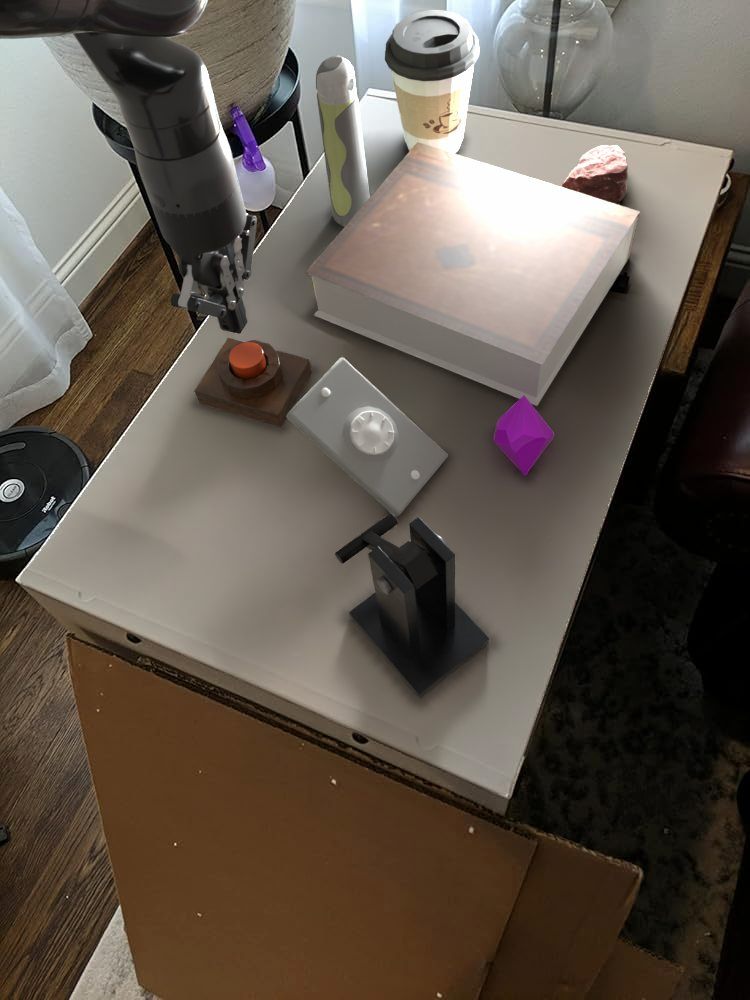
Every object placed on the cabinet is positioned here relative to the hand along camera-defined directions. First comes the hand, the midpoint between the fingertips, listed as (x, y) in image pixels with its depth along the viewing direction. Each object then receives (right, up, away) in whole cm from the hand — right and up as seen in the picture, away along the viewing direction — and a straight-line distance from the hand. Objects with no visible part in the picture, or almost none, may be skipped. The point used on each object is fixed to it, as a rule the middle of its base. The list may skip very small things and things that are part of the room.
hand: (235, 326), depth 85 cm
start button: (+1, -3, +5) cm, 6 cm away
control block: (+1, -5, +8) cm, 10 cm away
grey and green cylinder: (+11, +18, +22) cm, 30 cm away
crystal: (+29, -12, +1) cm, 31 cm away
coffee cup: (+22, +30, +28) cm, 46 cm away
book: (+25, +7, +14) cm, 30 cm away
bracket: (+18, -29, -8) cm, 35 cm away
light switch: (+14, -13, +2) cm, 19 cm away
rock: (+40, +20, +20) cm, 50 cm away
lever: (+16, -22, -15) cm, 31 cm away
